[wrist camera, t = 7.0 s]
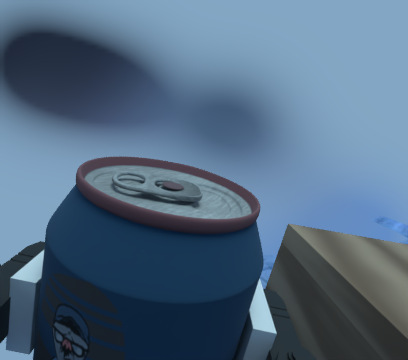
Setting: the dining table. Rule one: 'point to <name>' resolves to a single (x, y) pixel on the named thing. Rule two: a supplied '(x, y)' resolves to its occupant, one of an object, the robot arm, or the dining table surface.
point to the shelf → (344, 293)
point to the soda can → (148, 264)
